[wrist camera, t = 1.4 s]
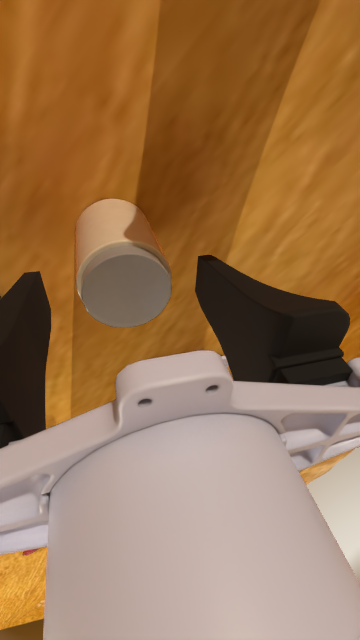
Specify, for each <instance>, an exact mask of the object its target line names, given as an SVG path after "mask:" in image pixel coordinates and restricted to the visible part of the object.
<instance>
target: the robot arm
mask: <svg viewBox="0 0 360 640" xmlns="http://www.w3.org/2000/svg"><path fill="white" fill-rule="evenodd" d="M195 292H196V295H197V298H198V301H199V303H200V306H201V308H202V310H203V312H204V314H205V316H206V318H207V320H208V322H209V323H210V325H211V327H212V329H213V331H214V333H215V334H216V336H217V338H218V340H219V342H220V344H221V347H222V349H223V352H224V354H225V356H220V355H219V354H217V353H216V352H214V351H204V350H199V351H193V352H187V353H181V354H175V355H169V356H164V357H158V358H152V359H146V360H140V361H138V362H135V363H132V364H129V365H127V366H126V367H125V368H124V369H123V370H122V371H120V372H119V373H118V374H117V378H116V382H115V388H116V399H115V400H114V401H112V402H109V403H107V404H105V405H102V406H100V407H98V408H95V409H93V410H90V411H88V412H86V413H83V414H81V415H79V416H76V417H74V418H72V419H69V420H67V421H65V422H62V423H60V424H57V425H55V426H53V427H50V428H48V429H46V423H45V371H46V362H47V355H48V347H49V340H50V332H51V308H50V305H49V301H48V298H47V295H46V291H45V288H44V284H43V281H42V278H41V274H40V271H39V272H28V273H24V274H23V275H22V276H21V277H20V278H19V280H18V281H17V282H16V283H15V284H14V285H13V286H12V288H11V289H10V290H9V291H8V292H7V293H6V294H5V295H4V296H3V297H2V298H1V299H0V555H3V554H9V553H15V552H20V551H26V550H32V549H37V548H43V547H47V566H46V588H45V610H44V632H43V640H360V584H359V581H358V580H357V578H356V576H355V574H354V572H353V570H352V569H351V567H350V565H349V563H348V561H347V560H346V558H345V556H344V554H343V552H342V550H341V549H340V547H339V545H338V543H337V541H336V539H335V538H334V536H333V534H332V532H331V530H330V528H329V526H328V525H327V523H326V521H325V519H324V518H323V515H322V514H321V512H320V510H319V508H318V506H317V504H316V503H315V501H314V499H313V497H312V495H311V494H310V492H309V490H308V488H307V486H306V484H305V482H304V481H303V479H302V477H301V475H300V473H299V471H301V470H304V469H306V468H308V467H311V466H313V465H316V464H318V463H320V462H323V461H325V460H328V459H330V458H332V457H335V456H337V455H340V454H342V453H345V452H347V451H350V450H352V449H355V448H358V447H360V357H358V358H354V359H351V360H350V361H348V362H347V363H346V362H345V361H344V360H343V359H342V357H343V355H344V353H343V351H342V350H341V349H340V348H339V346H340V344H341V342H342V340H343V338H344V336H345V334H346V332H347V330H348V328H349V325H350V317H349V314H348V313H347V312H346V311H345V310H344V309H343V308H342V307H341V306H340V305H339V304H337V303H336V302H335V301H328V300H321V299H315V298H310V297H305V296H300V295H296V294H292V293H289V292H286V291H282V290H279V289H276V288H273V287H271V286H268V285H266V284H263V283H261V282H259V281H257V280H254V279H252V278H251V277H249V276H247V275H245V274H243V273H241V272H239V271H237V270H236V269H234V268H232V267H231V266H229V265H227V264H226V263H224V262H222V261H221V260H219V259H217V258H216V257H214V256H212V255H203V256H198V264H197V276H196V287H195ZM228 365H229V367H230V370H231V373H232V376H233V379H234V381H233V380H232V377H231V375H230V373H229V371H228Z"/></svg>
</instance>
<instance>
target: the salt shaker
mask: <svg viewBox="0 0 360 640" xmlns="http://www.w3.org/2000/svg"><path fill="white" fill-rule="evenodd" d="M75 260H76V287H77V291H78V294H79V297H80V299H81V300H82V302H83V304H84V306H85V308H86V310H87V311H88V313H89V314H90V315H91V316H92V317H93V318H95V319H96V320H97V321H99V322H101V323H103V324H105V325H108V326H112V327H118V328H129V327H135V326H139V325H142V324H144V323H147V322H149V321H151V320H152V319H154V318H155V317H156V316H158V315H159V314H160V313H161V312H162V311H163V309H164V308H165V307H166V305H167V303H168V301H169V299H170V295H171V289H172V287H171V270H170V266H169V264H168V261H167V259H166V257H165V255H164V253H163V251H162V249H161V247H160V244H159V242H158V240H157V238H156V236H155V234H154V232H153V229H152V227H151V225H150V223H149V221H148V219H147V217H146V216H145V214H144V213H143V212H142V211H141V210H140V209H139V208H138V207H137V206H135V205H134V204H132V203H130V202H127V201H124V200H121V199H105V200H101V201H98V202H95V203H94V204H92V205H90V206H89V207H88V208H86V209H85V210H84V211H83V213H82V214H81V215H80V217H79V219H78V221H77V224H76V228H75Z"/></svg>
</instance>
